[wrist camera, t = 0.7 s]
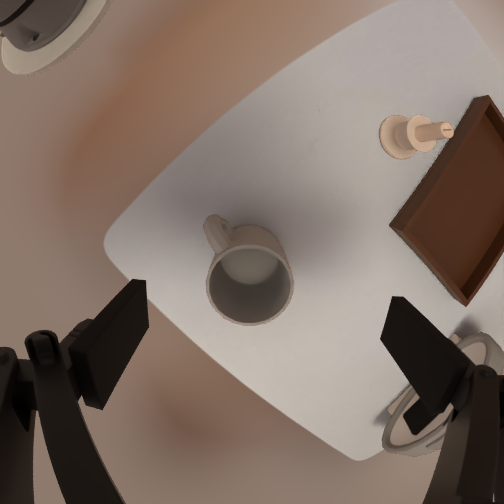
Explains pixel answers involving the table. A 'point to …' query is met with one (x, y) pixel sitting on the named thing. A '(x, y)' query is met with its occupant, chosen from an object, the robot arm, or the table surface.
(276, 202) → the table surface
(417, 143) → the candle
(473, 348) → the alarm clock
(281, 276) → the cup
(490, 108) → the tray
